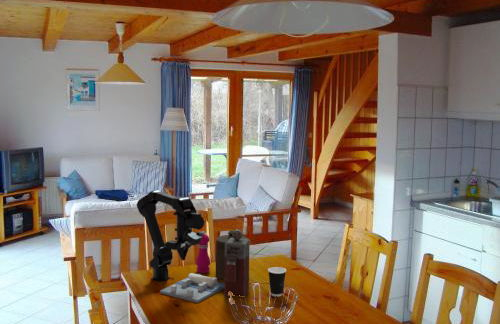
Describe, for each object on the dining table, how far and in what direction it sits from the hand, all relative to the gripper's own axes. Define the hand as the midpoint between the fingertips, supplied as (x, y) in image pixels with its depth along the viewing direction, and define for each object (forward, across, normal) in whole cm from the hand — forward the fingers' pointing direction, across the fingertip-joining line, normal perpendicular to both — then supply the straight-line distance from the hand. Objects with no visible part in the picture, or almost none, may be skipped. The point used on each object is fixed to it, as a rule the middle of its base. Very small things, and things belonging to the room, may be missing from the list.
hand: (183, 260), depth 224 cm
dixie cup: (+12, +14, -40) cm, 44 cm away
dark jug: (+12, +5, -25) cm, 28 cm away
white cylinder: (+9, +4, -7) cm, 12 cm away
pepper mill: (+12, +22, +5) cm, 26 cm away
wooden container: (+12, +24, -10) cm, 29 cm away
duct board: (+12, -1, -7) cm, 14 cm away
